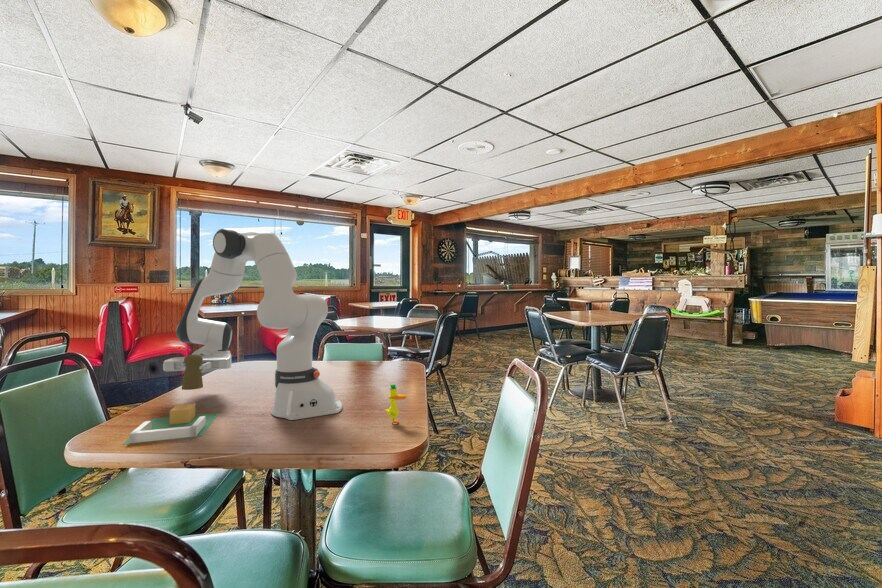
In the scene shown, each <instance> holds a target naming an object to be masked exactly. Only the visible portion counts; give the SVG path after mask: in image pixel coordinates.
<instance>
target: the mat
mask: <svg viewBox="0 0 882 588" xmlns="http://www.w3.org/2000/svg"><path fill="white" fill-rule="evenodd" d="M219 415H220V412H213V413H202V414H195V417H194V418H193V419H192V420H191V421H190V422H189V423H179V424H170V416H164V417H154V418H152V419H151V420H150V421H151V430H156V429H166V428H177V427H187V426H192V425H193V424H194V422H195V421H196V420H197V419H198V418H199V417H200V416H206V424H205V426H204V427H203V428H202V429H201V431H200V432H199V433H198V434H197V436H196V437H195V438H199V437H203V436H204V434H205V433H206V432H207V431H208V429H209V427H210V426H211V425H212V424H213V422H214V421H215V420H216V418H217V417H218V416H219ZM189 438H190V439H191V438H192V437H186V438H185V439H189ZM181 439H183V438H177V439H176V440H181ZM168 440H173V439H167V440H166V441H168ZM161 441H163V440H157V441H156V442H161ZM150 442H152V443H153V441H147V442H146V443H150ZM141 443H144V442H138V443H137V444H141ZM131 444H134V443H129V438H128V439H127V440H126V441H124V442H123V443H122V444H121V445H123V446H124V445H131Z"/></svg>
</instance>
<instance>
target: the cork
mask: <svg viewBox="0 0 882 588" xmlns="http://www.w3.org/2000/svg"><path fill="white" fill-rule="evenodd" d="M184 357H185V359H184V363H185V365H186V368H185V371H184V374H183V379H182V385H181V390H182V391H186V390H187V391H190V390H200V389H203V388H204V384H203V376H202V373H201V370H199V365H200V364H201V363H202V361H203V359H202V356H201V355H192V354H188V355H186V356H184Z"/></svg>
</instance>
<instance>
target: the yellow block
mask: <svg viewBox="0 0 882 588" xmlns="http://www.w3.org/2000/svg"><path fill="white" fill-rule="evenodd" d="M195 415H196V403H185V404H176V405H175V406H173V408H171V409H170V410H169V417H170V424H179V423H189V422H190V421H191V420H192V419H193V418H194V417H195Z"/></svg>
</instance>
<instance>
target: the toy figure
mask: <svg viewBox="0 0 882 588" xmlns="http://www.w3.org/2000/svg"><path fill="white" fill-rule="evenodd" d="M397 388H398V387H397V386H396V383H392V384H390V388H389V396H388V399H389V401H390V407H388V409H386V408H385V409H384V411H385V412H386V414H387V415H388V417H389V418H390V420H392V421H391V424H392V423H398V424H399V422H398V421H399V420H398V419H397V417H398V415H399V409H398V407H397V400H398V401H399V400H401V401H402V400H405V399H406V398H408V395H407V394H403V393H402V394H401V393H398V389H397Z"/></svg>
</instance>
